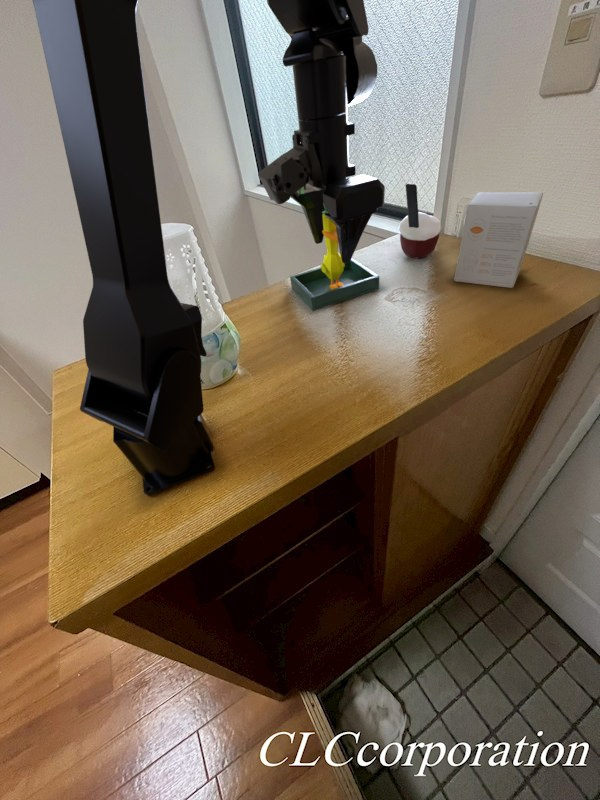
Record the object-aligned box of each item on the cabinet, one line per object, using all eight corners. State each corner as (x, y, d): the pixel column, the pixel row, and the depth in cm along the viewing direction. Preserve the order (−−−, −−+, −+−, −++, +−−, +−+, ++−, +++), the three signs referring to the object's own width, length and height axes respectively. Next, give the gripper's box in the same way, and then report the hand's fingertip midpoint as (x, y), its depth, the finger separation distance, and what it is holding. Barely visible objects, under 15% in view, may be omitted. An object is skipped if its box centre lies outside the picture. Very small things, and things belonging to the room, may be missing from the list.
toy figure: (359, 292, 51) (358, 204, 43) (339, 300, 50) (334, 211, 42) (335, 277, 56) (330, 195, 48) (316, 284, 55) (308, 202, 47)
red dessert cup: (423, 242, 63) (432, 164, 54) (449, 251, 58) (464, 169, 50) (382, 258, 60) (384, 179, 52) (406, 269, 56) (414, 185, 48)
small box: (519, 272, 50) (545, 191, 43) (513, 289, 47) (539, 205, 40) (462, 266, 54) (477, 190, 47) (452, 281, 51) (467, 203, 44)
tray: (312, 311, 50) (311, 298, 49) (291, 288, 56) (289, 276, 55) (379, 289, 52) (379, 276, 51) (352, 269, 58) (351, 257, 57)
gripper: (237, 126, 45) (261, 247, 55) (285, 136, 32) (306, 292, 42) (314, 109, 47) (324, 230, 57) (390, 112, 34) (384, 267, 44)
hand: (331, 252), depth 50 cm, fingers open, 9 cm apart
